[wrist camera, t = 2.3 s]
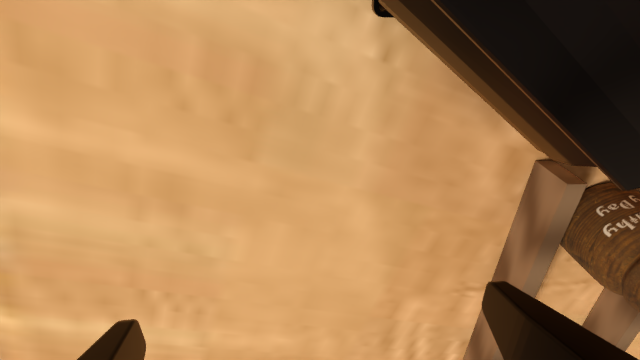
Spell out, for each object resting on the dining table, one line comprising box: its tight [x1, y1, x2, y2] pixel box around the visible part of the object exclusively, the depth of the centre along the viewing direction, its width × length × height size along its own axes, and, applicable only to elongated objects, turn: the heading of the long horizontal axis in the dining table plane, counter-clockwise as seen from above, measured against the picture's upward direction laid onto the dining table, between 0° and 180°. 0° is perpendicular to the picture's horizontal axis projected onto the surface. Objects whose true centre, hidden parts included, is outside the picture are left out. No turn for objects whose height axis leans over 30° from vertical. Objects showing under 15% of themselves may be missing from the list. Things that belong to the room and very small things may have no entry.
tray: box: [463, 160, 640, 360], centre depth 27 cm, size 22×11×3 cm, turn 179°
